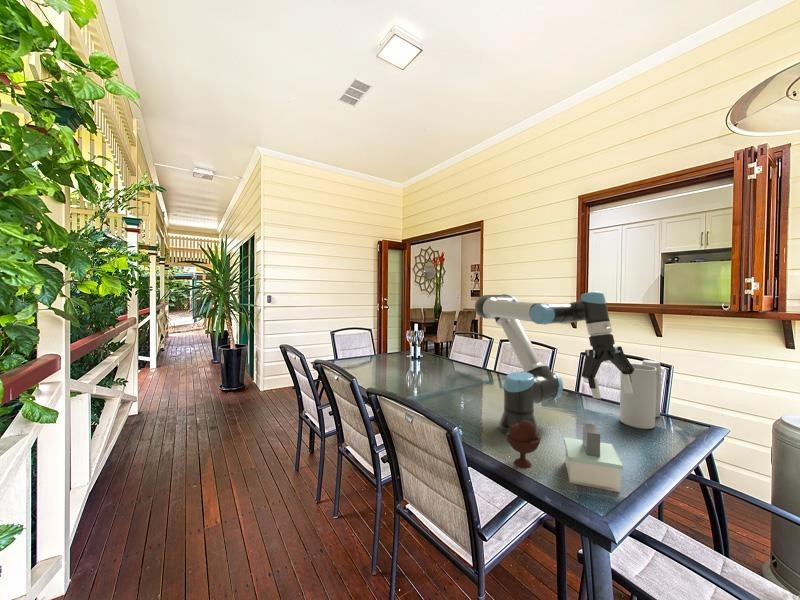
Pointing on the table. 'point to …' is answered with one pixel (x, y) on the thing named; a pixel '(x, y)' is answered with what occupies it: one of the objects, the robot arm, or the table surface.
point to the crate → (593, 475)
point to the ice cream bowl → (523, 441)
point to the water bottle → (658, 383)
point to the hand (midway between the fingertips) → (613, 395)
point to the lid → (592, 449)
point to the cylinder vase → (639, 398)
